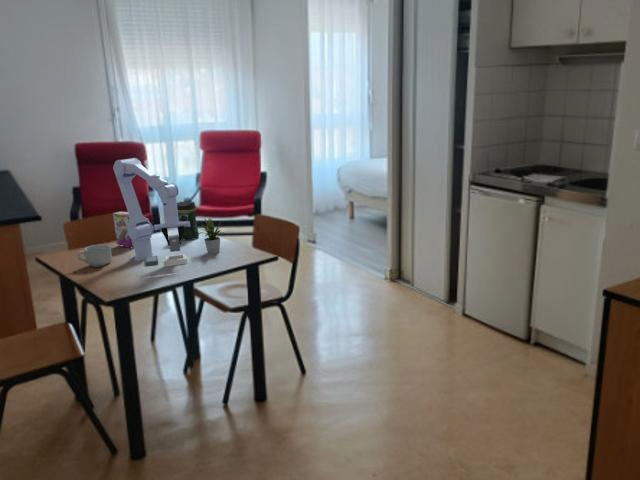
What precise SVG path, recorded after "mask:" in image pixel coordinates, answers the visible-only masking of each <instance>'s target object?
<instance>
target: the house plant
mask: <svg viewBox="0 0 640 480" xmlns="http://www.w3.org/2000/svg"><path fill="white" fill-rule="evenodd" d="M202 219H203V220H204V222H205V224H206V225H204V224H202V228H204V232H201V231H199V230H198V232H199V234H198V235H199V236H200V234H203V235H204V236H205V237H206V238H204V239H203V240H204V243H205V248H206V251H207V253H208V254H211V255H212V254H213V255H214V254H219V253H220V250H221V247H220V246H221V237H220V234H223V233H225V232H224V231H222V230H220V224H221V223H223V222H225V221H222V220H220V221H219V223H218V224H217V226H216V228H215V225H214V220H213V219H212V218H210V217H208V220H207V219H206V218H205V217H202ZM221 221H222V222H221ZM221 231H222V232H221Z"/></svg>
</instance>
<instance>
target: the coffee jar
mask: <svg viewBox="0 0 640 480" xmlns="http://www.w3.org/2000/svg"><path fill="white" fill-rule="evenodd" d="M177 210H178V219H179V222H185V221H190V226H189V227H188V226H186V227H184V232H183V234H182V239H181V240H183V239H185V240H186V241H187V240H189V241H190V240H194V239H198V238H199V236H200V234H199V233H200V232H199V228H198V225H197V224H198V221H197V218H196V217H197V216H196V212H197V207H196V203H195V202H194V201H178V202H177ZM198 234H199V235H198Z"/></svg>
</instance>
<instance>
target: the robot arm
mask: <svg viewBox="0 0 640 480" xmlns="http://www.w3.org/2000/svg"><path fill="white" fill-rule="evenodd" d="M112 169H113V172H114V175H115V178H116V181H117V184H118V186H119V189H120V192H121V195H122V199H123V201H124V204H125V206H126V210H127V212H128V213H129V216H130V221H129V223H128V224H127V227H128V235H129V237H130V238H131V239H132V240H133V241H134V248H133V249H134V261H145V257H151V256H154V253H153V249H152V240H151V239H152V235H154V231H158V230H160V231H161V233H162V235H163V236H164V238H165V240H166V243H167V247H170V243H169V237H168V236H169V231H168V229H175V228H176V229H177V235H178V236H179V244H180V246H181V245H182V240H183V239H182V234H183V232H184V227H186V226H188V227H189V226H190V221H185V222H179V219H178V210H177V203H178V202H177V196H178V195H179V188H178V185H177V184H175V183H174V182H168V181H167V180H165V179H164V178H163V177H161V175H160V174H153V173H152V172H151V171H149V170H148V169H147V168H146V167H144V166H143V165H142V161H141V160H139V159H138V158H136V157H132V158H125V159H117V160H115V162H114V164H113V167H112ZM136 175H137V176H138V177H140V178H142V179H143V180H145V181H146V182H147V185H148V186H149V187H150V188H152V189H153V190H154V191H155V192H156V193H157V195H158V197H159V199H160V202H161V204H162V209H163V210H162V211H163V219H164V220H163V221H164V223H160V224H152V223H151V222H150V220H149V218H148V217H146V216H144V215H143V212H142V210H141V209H142V208H141V206H140V203H139V200H138V197H137V194H136V192H135V189H134V185H133V183H132V181H133V178H135V177H136ZM136 224H137V225H136Z"/></svg>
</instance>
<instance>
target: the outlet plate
mask: <svg viewBox="0 0 640 480" xmlns="http://www.w3.org/2000/svg"><path fill="white" fill-rule="evenodd" d="M164 257H165V258H160V259H158V265H151V266H146V262H145V260H141V267H142V268H141V269H142V270H151V269H157V268H165V267H172V266H173V267H174V266H182V265H188V264H192V263H193V262H192V260H191V257H190V255H186V253H181V254H172V255H165V256H164Z"/></svg>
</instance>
